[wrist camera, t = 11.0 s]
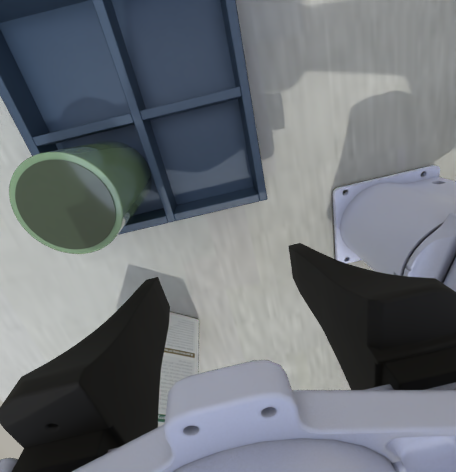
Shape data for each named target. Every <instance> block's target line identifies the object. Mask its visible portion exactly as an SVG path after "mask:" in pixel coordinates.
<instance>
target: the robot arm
mask: <svg viewBox="0 0 456 472" xmlns="http://www.w3.org/2000/svg"><path fill="white" fill-rule="evenodd" d="M422 172H423V174H422V175H421V173H422ZM439 174H440V168H439V166H436V165H431V166H427V167H423V168H419V169H414V170H410V171H406V172H402V173H397V174H393V175H389V176H385V177H380V178H376V179H372V180H368V181H363V182H359V183H355V184H351V185H346V186H342V187H338V188H336V189H335V190H334V191H333V214H334V235H335V256H336V260H335V259H333V258H331V257H328V256H326V255H324V254H322V253H319V252H317V251H315V250H313V249H311V248H309V247H307V246H305V245H303V244H301V243H298V244H294V245H290V246H289V252H290V259H291V267H292V274H293V279H294V281H295V283H296V285H297V288H298V290H299V292H300V294H301V295H302V297H303V298H304V300H305V302H306V303H307V305H308V306H309V308H310V309H311V311H312V313H313V314H314V316H315V317H316V319H317V320H318V322H319V324H320V325H321V327H322V329H323V331H324V332H325V334H326V336H327V339H328V341H329V343H330V345H331V347H332V349H333V351H334V353H335V355H336V357H337V359H338V361H339V363H340V366H341V368H342V370H343V372H344V374H345V377H346V379H347V381H348V383H349V386H350V388H351V390H292V389H291V386H290V383H289V380H288V377H287V374H286V372H285V371H284V369H283V368H282V366H281V365H279V364H277V363H274V362H272V361H269V360H255V361H250V362H245V363H241V364H237V365H233V366H228V367H224V368H220V369H216V370H211V371H207V372H203V373H199V374H195V375H190V376H188V377H186V378H184V379H181V380H179V381H177V382H176V383H175V384H174V385H173V387H172V388H171V389H170V390H169V392H168V400H167V408H166V416H165V424H164V425H162V426H160V427H158V408H159V389H160V376H161V366H162V360H163V354H164V349H165V344H166V338H167V333H168V327H169V316H170V306H169V304H168V301H167V299H166V296H165V294H164V291H163V289H162V286H161V284H160V281H159V279H158V277H156V278H152V279H148V280H146V281H145V282H144V283H143V284H142V285H141V286H140V287H139V288H138V289H137V290H136V291H135V293H134V294H133V295H132V296H131V297H130V298H129V299H128V300H127V301H126V302H125V303H124V304H123V305H122V306H121V307H120V308H119V309H118V310H117V311H116V312H115V313H114V314H113V315H112V316H111V317H110V318H109V319H108V320H107V321H106V322H105V323H104V324H102V325H101V326H100V327H99V328H98V329H96V330H95V331H94V332H93V333H91V334H90V335H89V336H87V337H86V338H85V339H83V340H82V341H81V342H79V343H78V344H76V345H75V346H74V347H72V348H71V349H69V350H68V351H66V352H64V353H63V354H61V355H60V356H58V357H56V358H55V359H53V360H51V361H50V362H48V363H46V364H44V365H43V366H41V367H39V368H37V369H35V370H34V371H32V372H30V373H28V374H26V375H24V376H22V377H21V378H20V380H19V381H18V383H17V384H16V386H15V387H14V388H13V390H12V391H11V393H10V394H9V396H8V397H7V398H6V400H5V401H4V403H3V404H2V406H1V407H0V424H1V425H2V426H3V428H4V429H5V430H6V431H7V432H8V433H9V434H10V435H11V436H12V437H13V438H14V439H15V440H16V441H17V442H18V443H19V444H20V445H21V446H22V447H24V450H23V452H22V454H21V455H20V457H19V459H15V458H5V459H1V460H0V472H456V181H454V180H450V179H446V178H442V177H439ZM344 190H346V193H345V194H342V193H343V191H344ZM346 257H348V258H347V259H345V258H346ZM359 260H363V261H364V262H365V263H366V264H367V265H368V266H369V267H371V268H372V269H373V270H374V271H371V270H367V269H363V268H359V267H356V266H352V265H349V264H346V263H350V262H355V261H359Z"/></svg>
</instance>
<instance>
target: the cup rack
mask: <svg viewBox="0 0 456 472" xmlns="http://www.w3.org/2000/svg"><path fill="white" fill-rule="evenodd" d="M0 96H1V98H2V99H3V101H4V103H5V105H6V107H7V109H8V111H9V113H10V115H11V117H12V118H13V120H14V122H15V124H16V126H17V128H18V130H19V132H20V134H21V136H22V137H23V139H24V141H25V143H26V145H27V147H28V149H29V151H30V153H31V155H32V156H34V155H37V154H40V153H44V152H49V151H54V150H60V149H65V148H70V147H75V146H81V145H86V144H91V143H96V142H101V141H118V142H122V143H125V144H127V145H129V146H131V147H132V148H134V149H135V150H136V151H138V152H139V153H140V154H141V155H142V157H143V158H144V159H145V161H146V162H147V164H148V166H149V169H150V172H151V178H152V184H151V189H150V192H149V195H148V196H147V198H146V199H145V201H144V202H143V203H142V204H141V206H140V207H139V208H138V209H137V211H136V212H135V213H134V215H133V216H132V217H131V218H130V220H129V221H128V222H127V223H126V225H125V226H124V227H123V229H122V230H121V231H120V232H119V234H123V233H127V232H131V231H135V230H140V229H144V228H148V227H152V226H157V225H161V224H165V223H168V222H173V221H177V220H182V219H186V218H190V217H194V216H199V215H203V214H207V213H211V212H216V211H220V210H224V209H228V208H233V207H237V206H241V205H245V204H250V203H254V202H258V201H262V200H266V199H267V194H266V188H265V182H264V175H263V169H262V163H261V157H260V151H259V144H258V138H257V132H256V126H255V119H254V113H253V107H252V101H251V94H250V88H249V82H248V76H247V69H246V63H245V57H244V51H243V44H242V38H241V32H240V26H239V19H238V13H237V7H236V1H235V0H0Z"/></svg>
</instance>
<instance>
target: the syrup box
mask: <svg viewBox="0 0 456 472" xmlns="http://www.w3.org/2000/svg"><path fill="white" fill-rule="evenodd" d="M198 370H199V320H198V319H195V318H191V317H188V316H184V315H180V314H176V313H172V312H170V316H169V327H168V333H167V338H166V344H165V349H164V354H163V360H162V366H161V376H160V389H159V408H158V427H160V426H162V425H164V424H165V416H166V408H167V400H168V392H169V390H170V389H171V388H172V387H173V385H174V384H175V383H176V382H177V381H179V380H181V379H184V378H186V377H188V376H190V375H195V374H199V371H198Z"/></svg>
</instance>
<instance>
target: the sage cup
mask: <svg viewBox="0 0 456 472" xmlns="http://www.w3.org/2000/svg"><path fill="white" fill-rule="evenodd" d="M151 184H152V178H151V172H150V169H149V166H148V164H147V162H146V161H145V159H144V158H143V157H142V155H141V154H140V153H139V152H138V151H136V150H135V149H134V148H132V147H131V146H129V145H127V144H125V143H122V142H118V141H101V142H96V143H91V144H86V145H81V146H75V147H70V148H65V149H60V150H54V151H49V152H44V153H40V154H37V155H34V156H32V157H30V158H28V159H26V160H25V161H24V162H22V163H21V164H20V165H19V166H18V167H17V169H16V170H15V172H14V174H13V176H12V178H11V182H10V186H9V197H10V203H11V207H12V209H13V212H14V214H15V216H16V218H17V220H18V221H19V222H20V224H21V225H22V227H23V228H24V229H25V230H26V231H27V232H28V233H29V234H30V235H31V236H32V237H34V238H35V239H36V240H37V241H39V242H41V243H42V244H44V245H46V246H48V247H50V248H52V249H55V250H57V251H61V252H65V253H71V254H85V253H91V252H94V251H98V250H100V249H102V248H104V247H105V246H107V245H108V244H110V243H111V242H112V241H113V240H114V239H115V237H116V236H117V235H118V234H119V232H120V231H121V230H122V229H123V227H124V226H125V225H126V223H127V222H128V221H129V220H130V218H131V217H132V216H133V215H134V213H135V212H136V211H137V209H138V208H139V207H140V206H141V204H142V203H143V202H144V201H145V199H146V198H147V196H148V195H149V192H150V189H151Z"/></svg>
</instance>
